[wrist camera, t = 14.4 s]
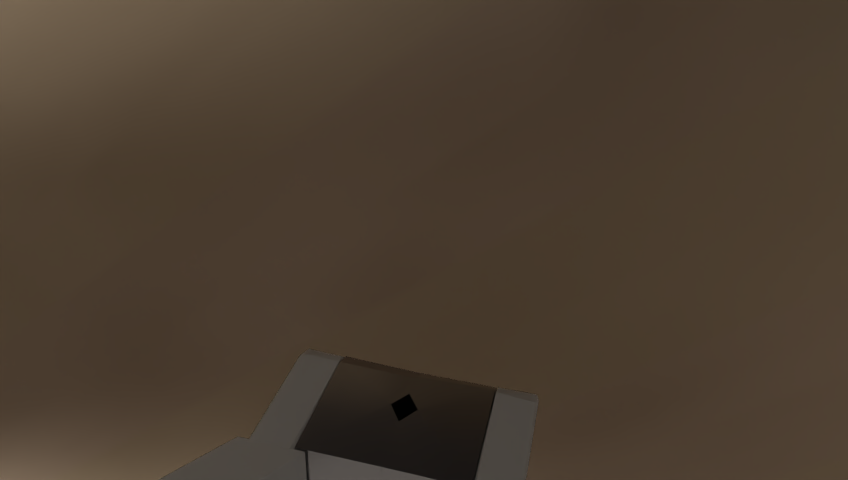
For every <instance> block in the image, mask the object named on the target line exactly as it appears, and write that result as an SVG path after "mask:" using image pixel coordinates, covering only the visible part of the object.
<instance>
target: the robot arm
mask: <svg viewBox="0 0 848 480" xmlns="http://www.w3.org/2000/svg"><path fill="white" fill-rule="evenodd" d="M538 402H539V399H538V396H537V394H531V393H526V392H521V391H515V390H510V389H504V388H499V387H498V389H497V388H496V387H491V386H486V385H481V384H476V383H470V382H465V381H460V380H455V379H450V378H445V377H439V376H434V375H429V374H424V373H418V372H413V371H409V370H404V369H400V368H395V367H391V366H387V365H382V364H378V363H373V362H369V361H365V360H360V359H356V358H351V357H347V356H346V357H342V356H338V355H334V354H330V353H325V352H321V351H317V350H313V349H308V350H306V351H305V352H304V353H302V354H301V355H300V356H299V357H298V359H297V361H296V362H295V364H294V366H293V367H292V369H291V371H290V372H289V374H288V376H287V377H286V379H285V380H284V382H283V384H282V385H281V387H280V389H279V390H278V392H277V394H276V395H275V397H274V398H273V400H272V402H271V403H270V405H269V407H268V408H267V410H266V412H265V413H264V415H263V417H262V418H261V420H260V421H259V423H258V425H257V426H256V428H255V430H254V431H253V433H252V435H251V436H250V438H249V439H247V438H242V437H236V438H234V439H232V440H230V441H228V442H227V443H225V444H223V445H221V446H219V447H217V448H216V449H214V450H212V451H210V452H208V453H206V454H205V455H203V456H201V457H199V458H197V459H195V460H194V461H192V462H190V463H188V464H186V465H184V466H183V467H181V468H179V469H177V470H175V471H173V472H172V473H170V474H168V475H166V476H164V477H162V478H161V479H159V480H526V477H527V471H528V465H529V458H530V452H531V446H532V440H533V433H534V427H535V421H536V415H537V408H538Z"/></svg>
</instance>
